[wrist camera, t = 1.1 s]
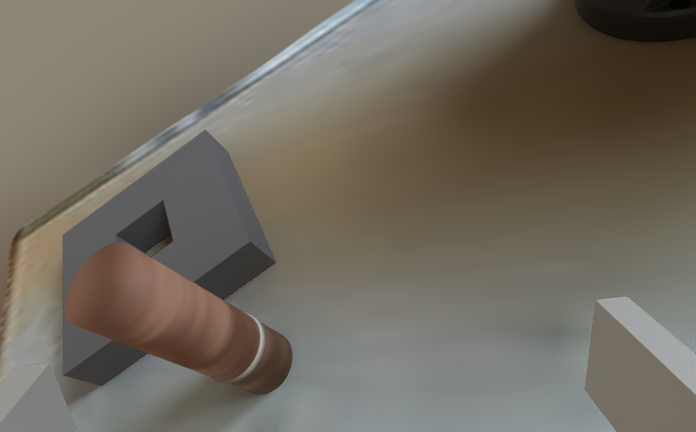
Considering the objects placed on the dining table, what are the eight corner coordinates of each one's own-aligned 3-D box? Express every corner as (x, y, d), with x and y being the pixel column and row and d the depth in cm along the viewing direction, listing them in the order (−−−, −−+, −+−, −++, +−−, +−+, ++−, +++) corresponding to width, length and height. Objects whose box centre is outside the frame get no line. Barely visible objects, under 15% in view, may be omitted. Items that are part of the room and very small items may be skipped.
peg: (281, 319, 38) (132, 224, 26) (302, 371, 35) (142, 290, 23) (232, 353, 38) (62, 275, 26) (249, 408, 35) (63, 347, 23)
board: (227, 152, 53) (205, 129, 50) (275, 262, 41) (250, 241, 38) (92, 251, 54) (62, 235, 51) (101, 385, 43) (63, 375, 40)
